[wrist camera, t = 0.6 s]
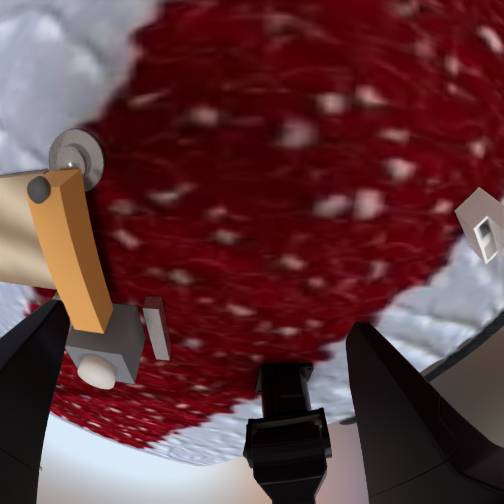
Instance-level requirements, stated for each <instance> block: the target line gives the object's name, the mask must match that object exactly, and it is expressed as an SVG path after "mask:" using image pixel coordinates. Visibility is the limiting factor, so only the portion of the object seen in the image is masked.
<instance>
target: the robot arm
mask: <svg viewBox="0 0 504 504" xmlns="http://www.w3.org/2000/svg"><path fill="white" fill-rule="evenodd" d="M69 328H70V317H69V315H68V312H67V310H66V307H65V305H64V303H63V301H62V300H58V299H50V300H48V301H47V302H46V303H44V304H43V305H42V306H40V307H39V308H38V309H36V310H35V311H34V312H33V313H31V314H30V315H29V316H27V317H26V318H25V319H24V320H22V321H21V322H20V323H19V324H17V325H16V326H15V327H14V328H12V329H11V330H10V331H9V332H7V333H6V334H5V335H4V336H3V337H1V338H0V504H36V501H37V488H38V478H39V469H40V461H41V454H42V448H43V442H44V436H45V431H46V426H47V421H48V417H49V412H50V408H51V404H52V399H53V395H54V391H55V388H56V384H57V380H58V377H59V373H60V369H61V366H62V361H63V356H64V351H65V346H66V341H67V337H68V332H69ZM346 353H347V362H348V372H349V382H350V390H351V395H352V400H353V405H354V410H355V415H356V421H357V426H358V432H359V437H360V443H361V449H362V455H363V461H364V468H365V475H366V481H367V489H368V496H369V504H504V448H503V447H500V446H498V445H496V444H494V443H492V442H491V441H490V440H488V439H487V438H486V437H485V436H484V435H483V434H482V433H481V432H479V431H478V430H477V429H476V428H475V427H474V426H473V425H471V424H470V423H469V422H468V421H467V420H466V419H465V418H464V417H462V416H461V415H460V414H459V413H458V412H457V411H456V410H455V409H454V408H453V407H452V406H451V405H450V404H449V403H448V402H447V401H446V400H445V399H444V398H443V397H442V396H440V393H439V392H437V390H436V389H435V388H434V387H433V386H432V385H431V384H430V383H429V382H428V381H427V380H426V379H425V378H424V377H423V376H422V375H421V374H420V373H419V372H418V371H417V370H416V369H415V368H414V367H413V366H412V365H411V364H410V363H409V362H408V361H407V360H406V359H405V358H404V357H403V356H402V354H401V353H400V352H399V351H398V350H397V349H396V348H395V347H394V346H393V345H392V344H391V343H390V342H388V341H387V340H386V339H385V338H384V337H383V336H382V335H381V334H380V333H379V332H378V331H377V330H376V329H375V328H374V327H373V326H372V325H371V324H370V323H369V322H367V321H357V322H355V323H354V325H353V326H352V328H351V330H350V332H349V334H348V336H347V339H346ZM313 369H314V367H313V364H295V365H261V366H260V367H259V373H258V378H257V383H256V388H255V390H256V393H261V396H262V412H263V418H259V419H253V418H252V419H248V424H247V425H246V442H245V446H244V451H243V456H244V457H245V458H246V459H247V461H248V463H249V466H250V468H253V475H254V478H255V480H256V481H257V483H258V484H259V485H260V486H261V487H262V489H263V490H264V491H265V493H266V494H267V495H268V496H269V497H270V498H271V500H272V504H316V500H315V497H316V495H317V493H318V491H319V490H320V488H321V486H322V483H323V482H324V479H325V478H326V475H327V463H326V458H331V457H332V451H331V444H330V437H329V432H328V427H327V422H326V418H325V413H324V408H323V407H322V408H319V409H316V410H311V404H310V398H309V392H308V386H307V382H308V380H309V378H310V376H311V373H312V371H313Z"/></svg>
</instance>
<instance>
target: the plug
mask: <svg viewBox="0 0 504 504" xmlns="http://www.w3.org/2000/svg"><path fill="white" fill-rule="evenodd" d="M112 305H113V308H114V309H113V311H112V314H111V316H110V319H109V322H108V324H107V327H106V330H105V332H104V334H102V333H95V332H89V331H82V330H76V329H74V327H73V325H72V328H71V330H70V332H69V334H68V337H67V341H66V346H65V348H66V350H67V351H68V353H69V355H70V356H71V358H72V360H73V361H74V363H75V365H76V366H77V368H78V375H79V376H80V377H81V378H82V379H83V380H84V381H85V382H87V383H88V384H90V385H92V386H95V387H98V388H102V389H111V388H113V386H114V383H115V381H119V382H125V383H132V384H135V380H136V376H137V371H138V367H139V363H140V359H141V354H142V350H143V346H144V342H145V338H146V337H145V334H144V330H143V327H142V323H141V320H140V316H139V312H138V308H137V306H134V305H123V304H113V303H112Z"/></svg>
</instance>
